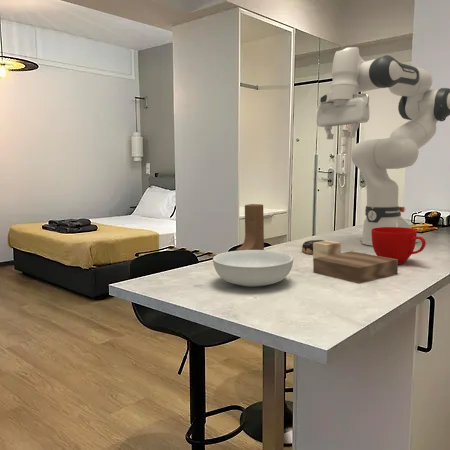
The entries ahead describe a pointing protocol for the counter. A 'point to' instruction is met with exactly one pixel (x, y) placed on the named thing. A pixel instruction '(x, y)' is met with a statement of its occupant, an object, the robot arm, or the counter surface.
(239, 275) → the serving bowl
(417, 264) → the counter surface
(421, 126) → the robot arm
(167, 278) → the counter surface
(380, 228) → the ceramic cup
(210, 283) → the counter surface
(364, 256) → the plinth
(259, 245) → the wooden block
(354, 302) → the counter surface
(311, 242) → the donut
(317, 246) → the beech cube
